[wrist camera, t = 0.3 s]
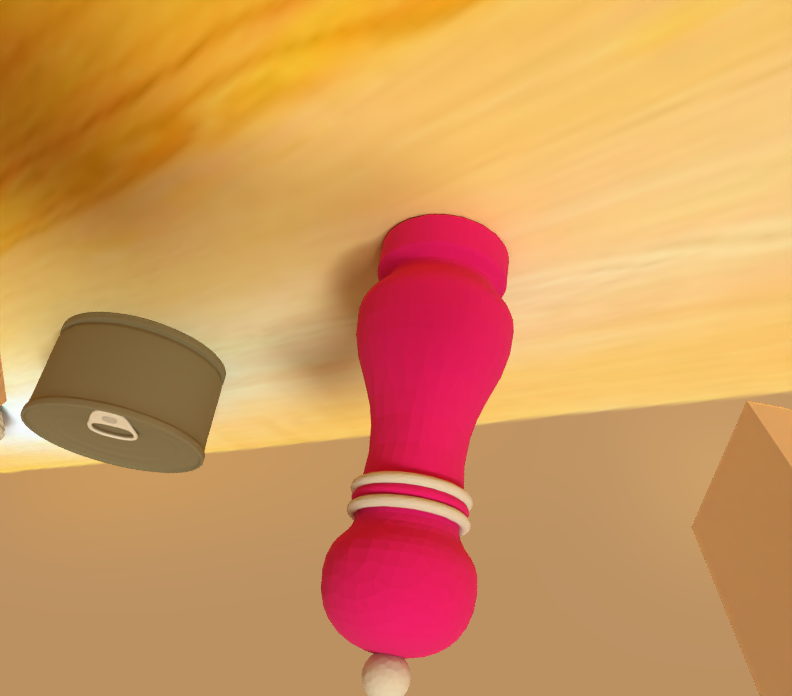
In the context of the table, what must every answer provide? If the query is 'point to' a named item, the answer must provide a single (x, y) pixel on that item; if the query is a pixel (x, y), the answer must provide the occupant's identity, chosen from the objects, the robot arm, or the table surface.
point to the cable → (1, 427)
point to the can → (127, 393)
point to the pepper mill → (419, 444)
